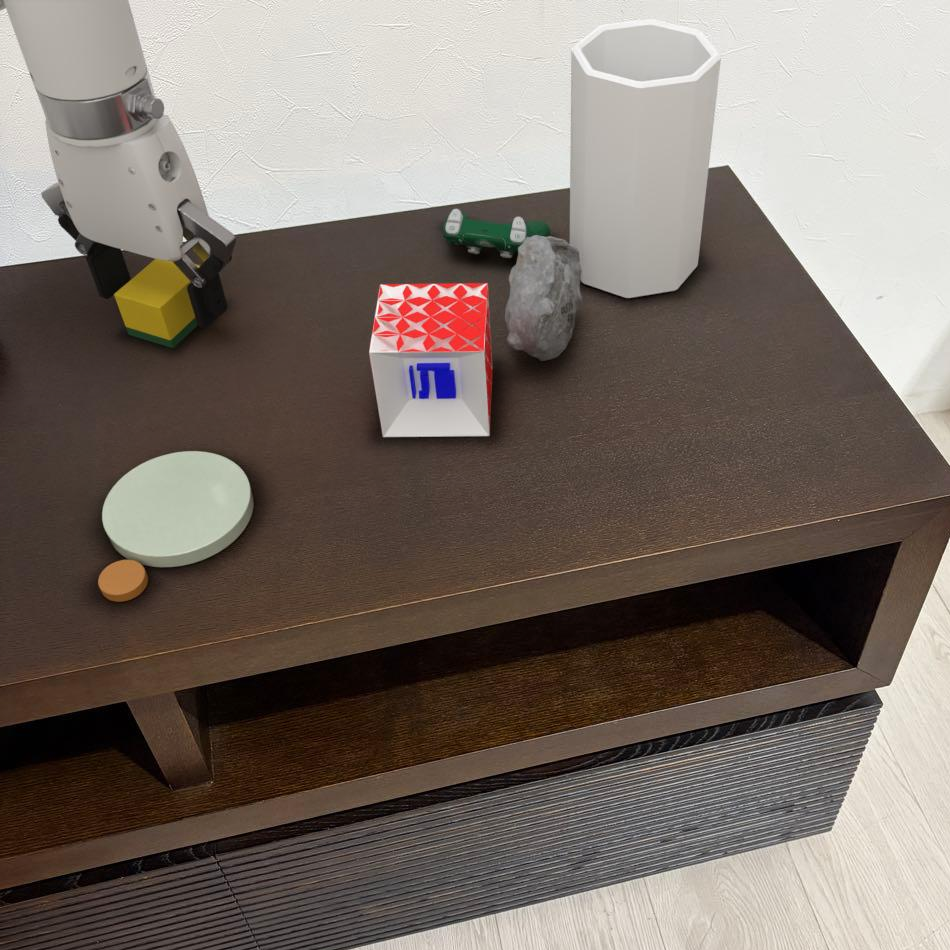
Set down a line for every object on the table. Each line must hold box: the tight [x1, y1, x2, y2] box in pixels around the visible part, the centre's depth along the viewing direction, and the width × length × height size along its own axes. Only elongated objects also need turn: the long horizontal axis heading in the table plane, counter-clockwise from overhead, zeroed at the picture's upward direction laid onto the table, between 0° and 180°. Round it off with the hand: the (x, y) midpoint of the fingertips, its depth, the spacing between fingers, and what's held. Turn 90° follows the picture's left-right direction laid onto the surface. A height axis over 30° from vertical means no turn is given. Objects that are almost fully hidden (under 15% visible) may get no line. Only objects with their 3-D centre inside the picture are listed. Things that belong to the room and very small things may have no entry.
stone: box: [504, 235, 583, 362], centre depth 84 cm, size 9×7×10 cm
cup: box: [569, 18, 722, 299], centre depth 89 cm, size 11×11×18 cm
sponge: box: [113, 258, 201, 349], centre depth 89 cm, size 6×4×4 cm
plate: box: [101, 450, 255, 568], centre depth 76 cm, size 10×10×1 cm
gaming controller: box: [442, 208, 552, 259], centre depth 96 cm, size 9×4×6 cm
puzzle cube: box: [368, 282, 494, 438], centre depth 81 cm, size 8×8×8 cm
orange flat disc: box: [97, 559, 149, 603], centre depth 72 cm, size 3×3×1 cm
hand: (164, 303), depth 89 cm, fingers open, 9 cm apart
